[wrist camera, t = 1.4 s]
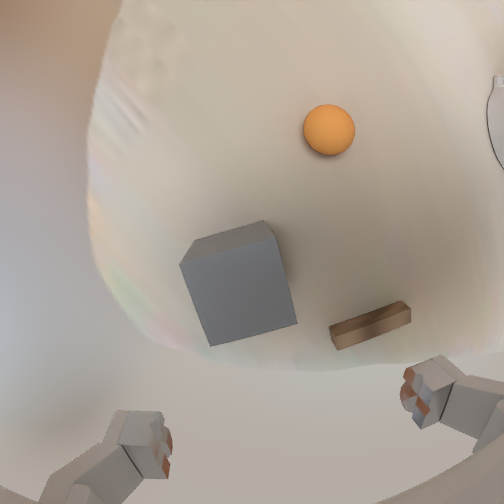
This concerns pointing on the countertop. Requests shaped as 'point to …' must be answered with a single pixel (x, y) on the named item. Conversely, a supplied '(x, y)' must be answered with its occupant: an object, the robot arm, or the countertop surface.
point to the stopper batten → (370, 325)
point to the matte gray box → (238, 284)
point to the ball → (329, 129)
